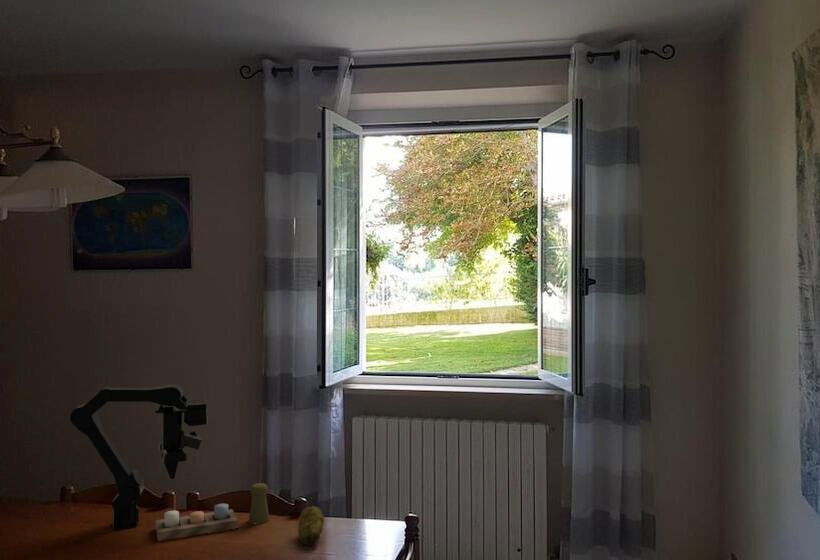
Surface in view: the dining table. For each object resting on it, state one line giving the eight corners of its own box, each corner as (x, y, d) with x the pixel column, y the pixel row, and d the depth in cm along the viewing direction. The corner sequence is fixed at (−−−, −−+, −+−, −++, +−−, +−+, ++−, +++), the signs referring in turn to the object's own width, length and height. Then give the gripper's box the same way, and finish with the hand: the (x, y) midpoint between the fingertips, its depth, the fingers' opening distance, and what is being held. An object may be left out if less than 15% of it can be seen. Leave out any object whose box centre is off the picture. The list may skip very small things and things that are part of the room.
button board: (158, 541, 183) (158, 532, 183) (155, 528, 192) (155, 520, 192) (238, 528, 192) (238, 520, 192) (232, 517, 201) (232, 509, 201)
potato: (287, 546, 179) (288, 517, 179) (304, 529, 192) (304, 501, 192) (316, 549, 178) (316, 519, 178) (331, 531, 190) (331, 503, 190)
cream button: (164, 530, 186) (164, 516, 186) (163, 525, 190) (163, 511, 190) (179, 528, 188) (179, 514, 188) (178, 523, 192) (178, 509, 192)
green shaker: (271, 517, 202) (271, 481, 201) (265, 524, 195) (265, 487, 195) (252, 516, 202) (252, 480, 202) (246, 523, 196) (246, 487, 196)
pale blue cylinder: (215, 522, 192) (215, 509, 192) (213, 518, 196) (213, 504, 196) (229, 520, 194) (229, 507, 194) (227, 516, 198) (227, 502, 198)
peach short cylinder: (190, 530, 189) (190, 517, 189) (188, 526, 193) (188, 512, 193) (204, 528, 191) (204, 514, 191) (203, 523, 195) (203, 510, 195)
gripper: (204, 430, 193) (204, 483, 193) (196, 418, 209) (196, 467, 209) (164, 434, 188) (164, 489, 188) (159, 421, 205) (158, 471, 205)
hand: (172, 478), depth 198 cm, fingers closed
